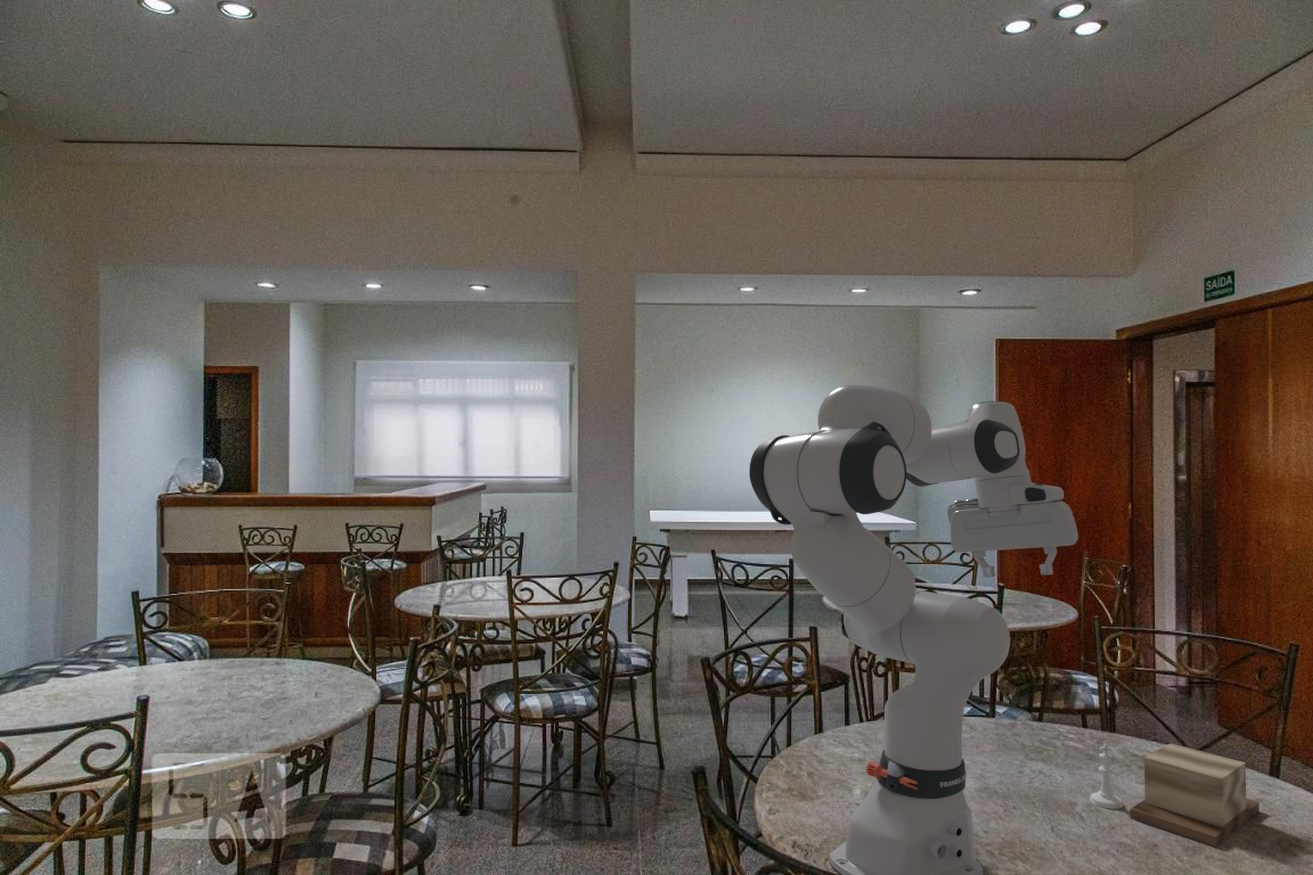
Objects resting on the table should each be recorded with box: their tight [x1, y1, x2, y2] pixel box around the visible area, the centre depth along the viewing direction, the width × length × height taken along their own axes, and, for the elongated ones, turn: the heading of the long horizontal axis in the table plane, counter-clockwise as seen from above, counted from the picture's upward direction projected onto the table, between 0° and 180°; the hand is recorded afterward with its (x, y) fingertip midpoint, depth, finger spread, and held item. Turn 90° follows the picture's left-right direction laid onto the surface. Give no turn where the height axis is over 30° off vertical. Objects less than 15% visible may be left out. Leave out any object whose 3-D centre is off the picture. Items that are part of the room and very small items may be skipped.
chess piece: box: [1089, 743, 1124, 810], centre depth 135 cm, size 5×5×10 cm
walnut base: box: [1129, 742, 1260, 848], centre depth 130 cm, size 20×12×9 cm, turn 127°
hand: (1017, 575), depth 134 cm, fingers open, 8 cm apart
